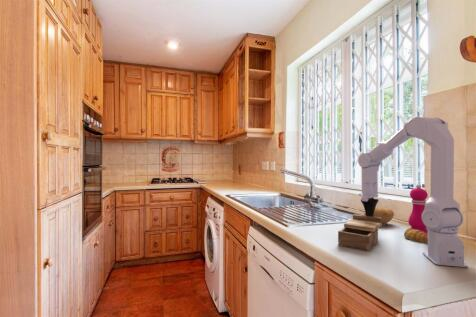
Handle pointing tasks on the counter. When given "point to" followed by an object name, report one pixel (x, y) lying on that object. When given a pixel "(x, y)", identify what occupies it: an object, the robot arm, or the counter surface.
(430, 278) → the counter surface
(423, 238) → the pastry
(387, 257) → the counter surface
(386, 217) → the potato
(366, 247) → the keepsake box
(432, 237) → the robot arm
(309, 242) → the counter surface
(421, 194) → the pepper mill
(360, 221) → the lid
